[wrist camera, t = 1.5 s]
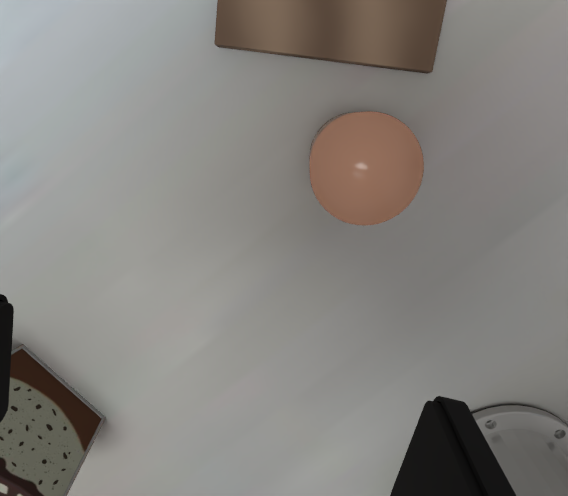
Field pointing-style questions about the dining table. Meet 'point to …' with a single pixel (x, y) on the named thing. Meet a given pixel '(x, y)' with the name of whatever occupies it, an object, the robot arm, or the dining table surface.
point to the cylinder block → (365, 167)
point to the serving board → (336, 30)
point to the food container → (43, 430)
